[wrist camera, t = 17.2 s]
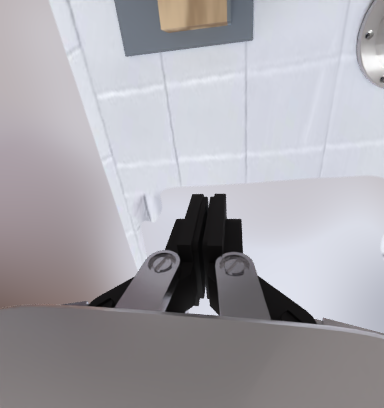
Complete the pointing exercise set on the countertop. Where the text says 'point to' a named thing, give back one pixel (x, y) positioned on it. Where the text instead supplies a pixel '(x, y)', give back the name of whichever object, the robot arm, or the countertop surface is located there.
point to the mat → (162, 41)
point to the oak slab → (193, 14)
